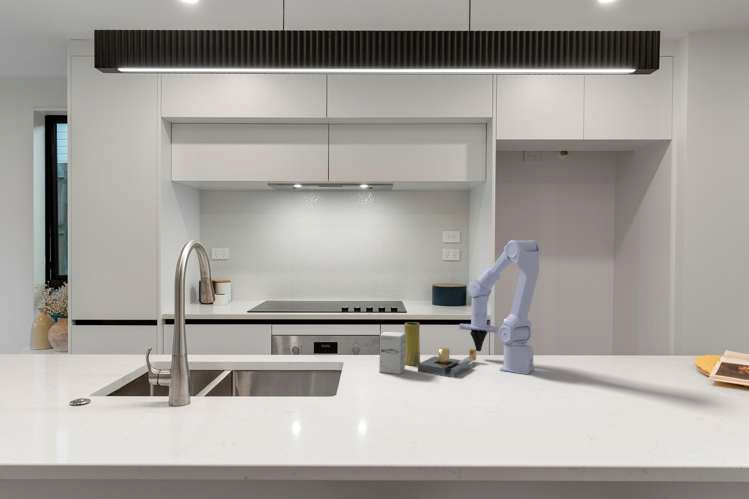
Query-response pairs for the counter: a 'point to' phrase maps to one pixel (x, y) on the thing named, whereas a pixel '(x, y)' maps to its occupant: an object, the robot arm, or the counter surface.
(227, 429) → the counter surface
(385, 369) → the supplement box
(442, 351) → the gold cylinder
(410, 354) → the vase
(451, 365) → the socket
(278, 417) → the counter surface
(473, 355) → the lock pin
